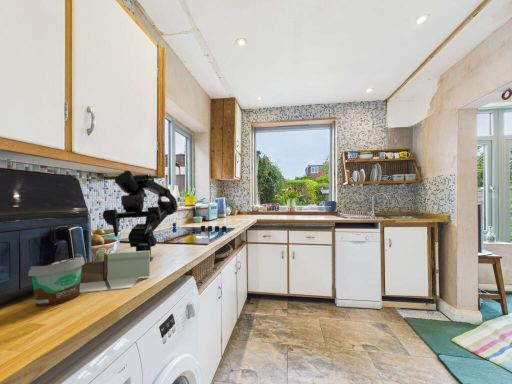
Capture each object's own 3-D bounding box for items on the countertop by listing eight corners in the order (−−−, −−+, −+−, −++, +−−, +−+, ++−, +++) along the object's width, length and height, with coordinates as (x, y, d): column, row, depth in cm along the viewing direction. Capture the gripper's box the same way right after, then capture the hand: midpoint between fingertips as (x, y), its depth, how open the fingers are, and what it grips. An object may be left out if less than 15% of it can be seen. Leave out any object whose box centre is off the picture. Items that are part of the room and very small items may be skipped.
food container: (49, 312, 53) (48, 268, 53) (28, 309, 54) (27, 267, 54) (96, 289, 65) (96, 254, 65) (78, 287, 66) (78, 252, 66)
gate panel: (109, 278, 74) (109, 253, 74) (150, 274, 76) (149, 250, 77) (107, 279, 72) (107, 254, 72) (149, 276, 75) (149, 251, 75)
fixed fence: (79, 282, 72) (79, 255, 72) (108, 279, 73) (108, 253, 74) (76, 284, 70) (77, 256, 70) (106, 281, 72) (106, 254, 72)
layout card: (85, 277, 77) (85, 276, 77) (142, 272, 81) (142, 271, 81) (59, 295, 62) (59, 293, 62) (131, 288, 67) (131, 286, 67)
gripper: (101, 187, 83) (91, 225, 73) (157, 185, 87) (154, 220, 78) (111, 206, 91) (103, 242, 81) (162, 203, 96) (160, 236, 86)
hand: (130, 234), depth 81 cm, fingers open, 9 cm apart
